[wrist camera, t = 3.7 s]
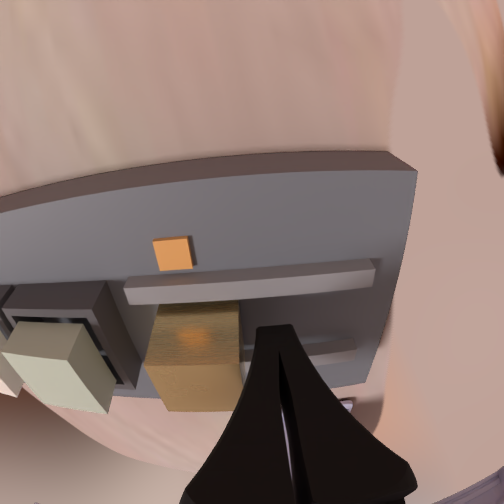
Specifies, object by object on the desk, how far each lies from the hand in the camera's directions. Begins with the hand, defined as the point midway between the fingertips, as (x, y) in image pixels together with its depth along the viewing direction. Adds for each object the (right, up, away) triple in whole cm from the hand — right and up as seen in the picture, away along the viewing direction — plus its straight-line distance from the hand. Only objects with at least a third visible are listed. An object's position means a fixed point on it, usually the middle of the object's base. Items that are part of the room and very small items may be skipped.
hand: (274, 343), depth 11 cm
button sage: (-9, -1, 0) cm, 9 cm away
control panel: (-6, +2, +3) cm, 7 cm away
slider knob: (-3, 0, +1) cm, 3 cm away
